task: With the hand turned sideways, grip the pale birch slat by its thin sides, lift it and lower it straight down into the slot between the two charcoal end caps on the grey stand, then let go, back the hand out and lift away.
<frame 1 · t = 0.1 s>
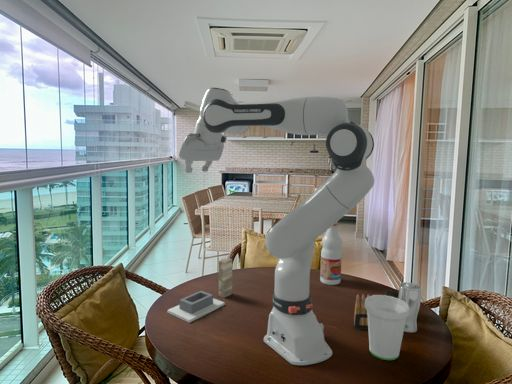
hand: (196, 171, 120), 52 cm above the table, tool tilted 20°, fingers open, 8 cm apart
beer glass: (407, 328, 115), on the table
cup 2: (393, 313, 126), on the table
slat: (225, 295, 140), on the table
ammunition clip: (369, 328, 115), on the table
cup: (383, 352, 101), on the table
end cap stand: (196, 308, 127), on the table
fruit juice: (330, 281, 156), on the table
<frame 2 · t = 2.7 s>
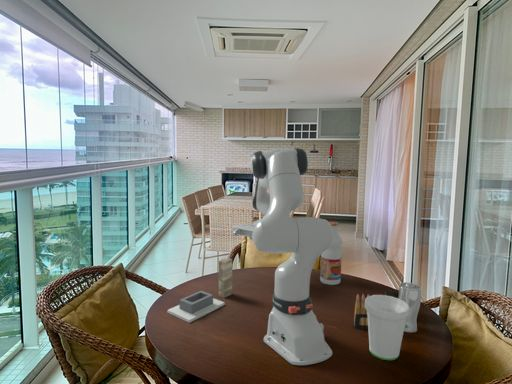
hand: (242, 235, 146), 23 cm above the table, tool horizontal, fingers open, 8 cm apart
nothing on the table moved.
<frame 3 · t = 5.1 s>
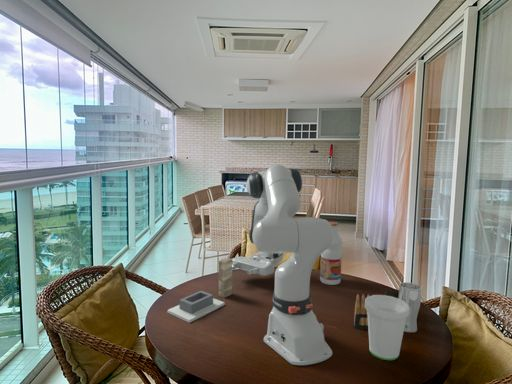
hand: (239, 270, 146), 8 cm above the table, tool horizontal, fingers open, 8 cm apart
nothing on the table moved.
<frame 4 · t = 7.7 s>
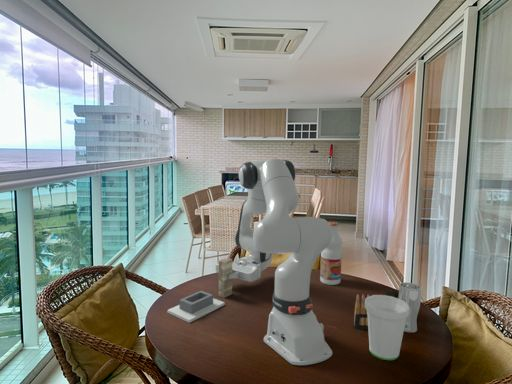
hand: (224, 275, 138), 9 cm above the table, tool horizontal, fingers closed on slat, 3 cm apart
slat: (225, 294, 140), on the table, touching gripper
everything else where it was.
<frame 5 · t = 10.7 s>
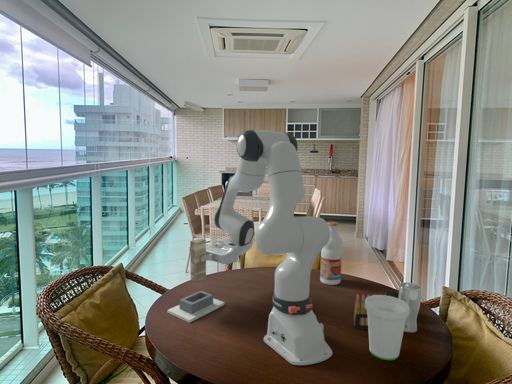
hand: (196, 257, 125), 20 cm above the table, tool horizontal, fingers closed on slat, 3 cm apart
slat: (198, 279, 126), point 11 cm above the table, touching gripper
everything else where it was.
when the fingers open (10 cm above the table, at t = 13.9 s): slat stays where it is, resting on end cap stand.
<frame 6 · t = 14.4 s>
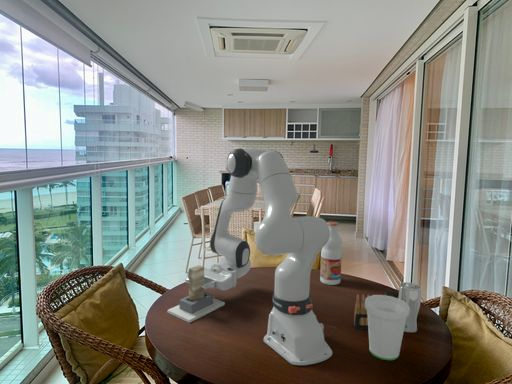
hand: (194, 284, 125), 10 cm above the table, tool horizontal, fingers open, 8 cm apart
slat: (196, 306, 127), point 1 cm above the table, touching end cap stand
everything else where it was.
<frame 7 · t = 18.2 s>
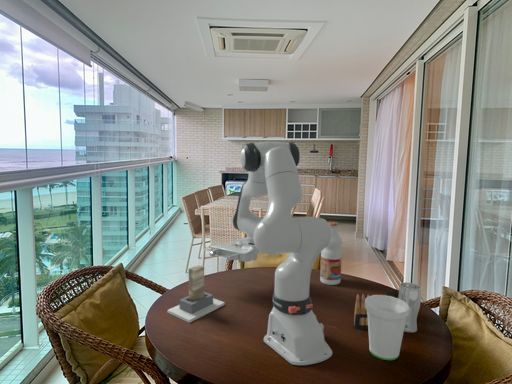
hand: (219, 256, 134), 18 cm above the table, tool horizontal, fingers open, 8 cm apart
nothing on the table moved.
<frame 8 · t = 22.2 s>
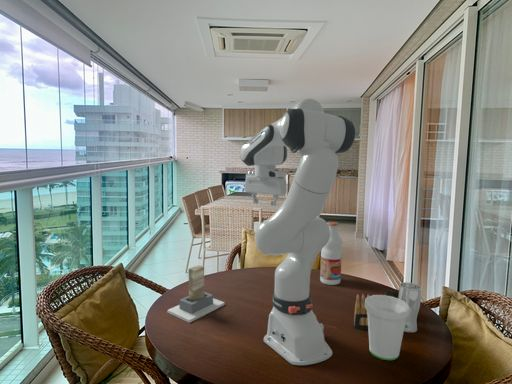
hand: (264, 204, 144), 37 cm above the table, tool pointing down, fingers open, 8 cm apart
nothing on the table moved.
at the end: slat 0.0 cm off-centre on the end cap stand, point 1.0 cm above the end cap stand's base; slat tilted 0°; the gripper is holding nothing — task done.
